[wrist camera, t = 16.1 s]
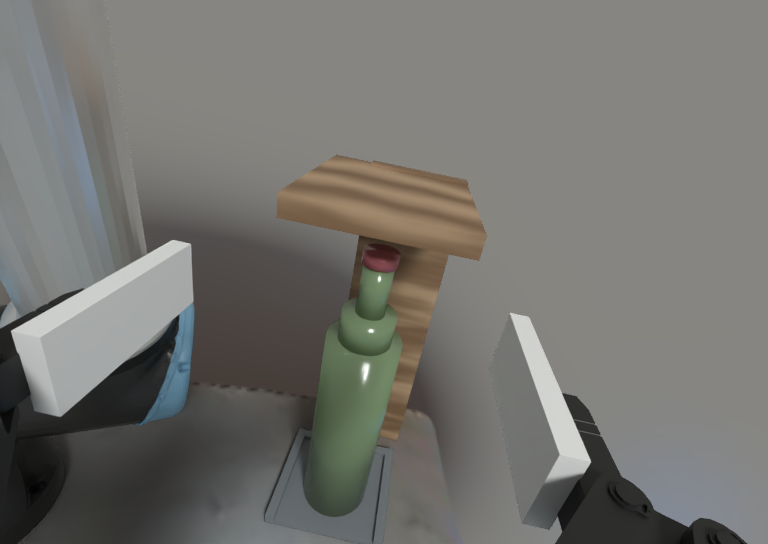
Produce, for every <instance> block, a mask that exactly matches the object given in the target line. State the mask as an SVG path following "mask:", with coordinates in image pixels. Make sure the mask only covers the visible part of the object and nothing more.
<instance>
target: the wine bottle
mask: <svg viewBox="0 0 768 544" xmlns="http://www.w3.org/2000/svg"><path fill="white" fill-rule="evenodd" d="M400 256H401V253H400V252H399V251H398V250H397V249H395V248H393V247H391V246H388V245H384V244H377V243H373V244H368V245H366V246H365V247H364V250H363V256H362V264H363V269H362V274H361V280H360V285H359V291H358V296H357V298H353V299H350V300H348V301H346V302H345V303H344V305H343V307H342V311H341V317H340V319H339V320H337V321H335V322H333V323H332V324H331V325H330V326H329V328H328V329H327V332H326V337H325V344H324V351H323V357H322V364H321V371H320V378H319V384H318V391H317V398H316V405H315V411H314V418H313V425H312V432H311V438H310V445H309V452H308V459H307V465H306V472H305V479H304V495H305V498H306V500H307V502H308V503H309V505H310V506H311V507H312V508H313V509H314V510H315V511H317V512H318V513H320V514H322V515H325V516H329V517H340V516H344V515H347V514H349V513H351V512H353V511H354V510H355V509H356V508H357V507H358V506H359V505H360V503H361V502H362V500H363V497H364V494H365V490H366V486H367V482H368V478H369V474H370V471H371V467H372V463H373V459H374V455H375V451H376V447H377V444H378V440H379V436H380V432H381V428H382V424H383V420H384V417H385V413H386V409H387V405H388V401H389V397H390V393H391V390H392V386H393V382H394V378H395V374H396V370H397V366H398V363H399V359H400V355H401V351H402V347H403V344H402V340H401V337H400V336H399V334H398V333H397V332H396V331H395V327H396V323H397V319H398V316H397V312H396V311H395V310H394V308H393V307H391V306H390V305H389V304H388V299H389V295H390V290H391V286H392V281H393V277H394V272H395V271H396V270H397V269H398V265H399V261H400Z"/></svg>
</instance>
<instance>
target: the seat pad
mask: <svg viewBox="0 0 768 544" xmlns="http://www.w3.org/2000/svg"><path fill="white" fill-rule="evenodd" d="M311 432H312V431H310V430H305V429H301V428H299V431H298V434H297V436H296V439H295V441H294V444H293V446H292V449H291V451H290V454H289V456H288V459H287V461H286V464H285V466H284V469H283V471H282V474H281V476H280V479H279V481H278V484H277V486H276V489H275V491H274V494H273V496H272V499H271V501H270V504H269V506H268V509H267V511H266V514H265V519H264V521H265V522H269V523H273V524H277V525H282V526H286V527H290V528H294V529H299V530H303V531H307V532H311V533H316V534H320V535H324V536H329V537H333V538H337V539H341V540H346V541H350V542H354V543H358V544H383V537H384V528H385V519H386V510H387V501H388V492H389V483H390V474H391V465H392V456H393V449H389V448H384V447H380V446H377V447H376V451H375V455H374V459H373V463H372V467H371V471H370V474H369V478H368V482H367V486H366V490H365V494H364V497H363V500H362V502H361V503H360V505H359V506H358V507H357V508H356V509H355V510H354V511H353V512H351V513H349V514H347V515H344V516H340V517H329V516H325V515H322V514H320V513H318V512H317V511H315V510H314V509H313V508H312V507H311V506H310V505H309V503H308V502H307V500H306V498H305V495H304V479H305V472H306V465H307V459H308V452H309V445H310V438H311Z"/></svg>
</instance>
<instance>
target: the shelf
mask: <svg viewBox="0 0 768 544" xmlns="http://www.w3.org/2000/svg"><path fill="white" fill-rule="evenodd" d="M277 218H282V219H286V220H290V221H295V222H300V223H305V224H309V225H314V226H318V227H323V228H328V229H333V230H337V231H342V232H347V233H352V234H356V235H359V240H358V246H357V252H356V258H355V264H354V270H353V276H352V283H351V289H350V295H349V300H350V299H353V298H357V296H358V291H359V285H360V280H361V274H362V269H363V264H362V256H363V250H364V247H365V246H366V245H368V244H373V243H377V244H384V245H388V246H391V247H393V248H395V249H397V250H398V251H399V252H400V253H401V256H400V261H399V265H398V269H397V270H396V271H395V272H394V277H393V281H392V286H391V290H390V295H389V299H388V304H389V305H390V306H391V307H393V308H394V310H395V311H396V312H397V316H398V319H397V323H396V327H395V331H396V332H397V333H398V334H399V336H400V337H401V340H402V344H403V347H402V351H401V355H400V359H399V363H398V366H397V370H396V374H395V378H394V382H393V386H392V390H391V393H390V397H389V401H388V405H387V409H386V413H385V417H384V420H383V424H382V428H381V432H380V437H384V438H389V439H393V440H397V438H398V435H399V431H400V428H401V424H402V421H403V417H404V413H405V410H406V406H407V403H408V399H409V395H410V392H411V388H412V385H413V381H414V377H415V374H416V370H417V366H418V363H419V360H420V356H421V352H422V348H423V345H424V341H425V338H426V334H427V331H428V327H429V324H430V320H431V316H432V313H433V309H434V306H435V302H436V298H437V295H438V291H439V288H440V284H441V281H442V277H443V273H444V269H445V265H446V263H447V258H448V255H449V254H450V255H455V256H460V257H464V258H469V259H473V260H478V261H479V259H480V256H481V252H482V250H483V246H484V243H485V240H486V237H487V235H486V232H485V230H484V227H483V224H482V222H481V219H480V217H479V214H478V212H477V209H476V206H475V204H474V201H473V198H472V196H471V193H470V191H469V188H468V182H467V180H464V179H459V178H454V177H450V176H445V175H440V174H435V173H430V172H426V171H421V170H416V169H411V168H406V167H401V166H396V165H392V164H387V163H382V162H377V161H373V162H367V161H363V160H358V159H353V158H349V157H344V156H338V155H336V156H334V157H332V158H331V159H329V160H328V161H326V162H325V163H323V164H321V165H320V166H318V167H317V168H315V169H313V170H312V171H310V172H309V173H307V174H305V175H304V176H302V177H301V178H299V179H298V180H296V181H294V182H293V183H291V184H290V185H288V186H287V187H285V188H283V189H282V190H280V191H279V192H278V202H277Z"/></svg>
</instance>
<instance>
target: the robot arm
mask: <svg viewBox="0 0 768 544" xmlns="http://www.w3.org/2000/svg"><path fill="white" fill-rule="evenodd" d="M191 258H192V257H191V244H189V243H184V242H180V241H175V240H172V241H170V242H169V243H167V244H165V245H163V246H161V247H159V248H158V249H156V250H154V251H153V252H151V253H149V254H147V249H146V243H145V238H144V231H143V225H142V219H141V213H140V208H139V201H138V195H137V189H136V183H135V178H134V171H133V165H132V160H131V154H130V147H129V141H128V135H127V129H126V123H125V117H124V112H123V105H122V99H121V93H120V87H119V81H118V75H117V69H116V63H115V57H114V51H113V44H112V39H111V33H110V27H109V20H108V15H107V8H106V2H105V0H0V280H1V281H2V283H3V285H4V287H5V289H6V291H7V293H8V295H9V297H10V299H11V301H10V303H9V304H8V305H0V544H16V543H17V542H19V541H20V540H21V539H22V538H23V537H25V536H26V535H27V534H28V533H29V532H30V531H31V530H32V529H33V528H34V527H35V526H36V525H37V524H38V523H39V522H40V521H41V520H42V518H43V517H44V516H45V515H46V514H47V512H48V511H49V510H50V508H51V507H52V505H53V504H54V502H55V501H56V499H57V497H58V495H59V493H60V490H61V488H62V485H63V481H64V473H65V471H64V464H63V460H62V457H61V453H60V451H59V448H58V447H57V445H56V444H55V442H54V441H53V440H52V439H51V438H50V437H49V436H52V435H59V434H66V433H73V432H80V431H87V430H94V429H102V428H109V427H116V426H123V425H130V424H134V425H144V424H146V423H147V422H150V421H155V420H160V419H166V418H170V417H173V416H175V415H176V414H178V413H179V412H180V411H181V410H182V409H183V407H184V405H185V403H186V400H187V394H188V388H189V380H190V368H191V367H190V363H191V357H192V350H193V338H194V318H195V317H194V316H195V309H194V304H193V281H192V259H191ZM489 369H490V373H491V378H492V383H493V388H494V393H495V398H496V402H497V407H498V412H499V417H500V421H501V427H502V431H503V436H504V441H505V446H506V451H507V455H508V460H509V465H510V470H511V475H512V479H513V484H514V489H515V494H516V499H517V504H518V508H519V513H520V518H521V523H522V524H527V525H531V526H535V527H539V528H544V529H548V530H549V529H550V528H551V526H552V525H553V523H554V522H555V520H556V518H557V517H558V518H559V522H560V525H561V529H562V534H561V536H560V537H559V539H558V540H557V542H556V543H555V544H747V543H746V542H745V541H744V540H742V539H741V538H740V537H739V536H738V535H737V534H736V533H734V532H733V531H731V530H730V529H728V528H727V527H725V526H724V525H722V524H720V523H718V522H715V521H713V520H710V519H704V518H699V519H698V520H696V521H694V522H693V523H692V524H691V526H690V527H687V526H684V525H683V524H681V523H679V522H677V521H675V520H672V519H670V518H668V517H666V516H664V515H662V514H660V513H658V512H656V511H655V510H654V509H653V506H652V504H651V502H650V501H649V499H648V498H647V497H646V495H645V494H644V493H643V492H642V491H641V490H640V489H639V488H637V487H636V486H635V485H634V484H633V483H631V482H630V481H628V480H626V479H625V478H623V477H621V475H620V473H619V471H618V469H617V467H616V465H615V463H614V461H613V459H612V457H611V454H610V452H609V450H608V448H607V446H606V444H605V442H604V440H603V438H602V437H600V432H599V430H598V428H597V426H595V422H594V420H593V418H592V416H591V414H590V412H589V410H588V409H587V408H586V406H585V405H584V404H583V403H582V402H581V401H580V400H579V399H578V398H577V397H576V396H572V395H568V394H563V393H561V390H560V388H559V386H558V384H557V381H556V379H555V377H554V374H553V372H552V370H551V367H550V365H549V363H548V360H547V358H546V356H545V353H544V351H543V349H542V347H541V344H540V342H539V339H538V337H537V335H536V332H535V330H534V328H533V326H532V323H531V321H530V319H529V317H526V316H521V315H516V314H513V313H510V314H509V316H508V319H507V322H506V324H505V327H504V329H503V332H502V335H501V337H500V340H499V343H498V345H497V348H496V350H495V353H494V355H493V358H492V361H491V363H490V366H489Z"/></svg>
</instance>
